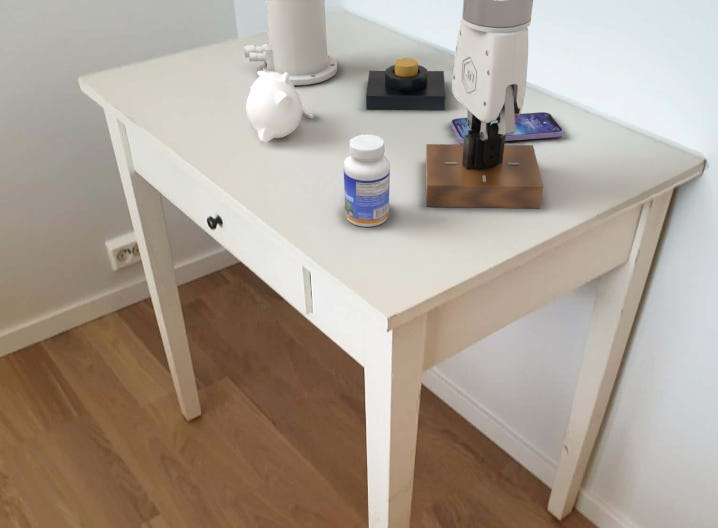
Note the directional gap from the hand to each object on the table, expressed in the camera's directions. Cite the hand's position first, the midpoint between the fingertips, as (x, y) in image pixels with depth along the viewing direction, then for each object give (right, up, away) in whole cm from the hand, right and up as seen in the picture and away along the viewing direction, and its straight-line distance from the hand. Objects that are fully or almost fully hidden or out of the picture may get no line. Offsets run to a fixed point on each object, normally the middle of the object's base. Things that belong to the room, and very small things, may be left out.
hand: (482, 161), depth 92 cm
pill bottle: (-14, -8, -3) cm, 17 cm away
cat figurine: (-27, +9, +16) cm, 32 cm away
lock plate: (0, -2, +2) cm, 3 cm away
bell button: (-9, +19, +21) cm, 30 cm away
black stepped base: (-8, +17, +23) cm, 30 cm away
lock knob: (0, 0, 0) cm, 0 cm away
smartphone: (+6, +8, +14) cm, 17 cm away
